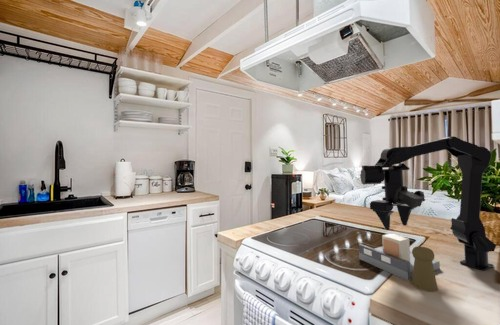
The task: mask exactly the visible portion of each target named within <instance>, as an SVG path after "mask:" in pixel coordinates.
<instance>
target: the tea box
mask: <svg viewBox="0 0 500 325" xmlns="http://www.w3.org/2000/svg"><path fill="white" fill-rule="evenodd" d="M381 239H382V240H381V241H382V242H381V243H382V246H383V252H385V253H387V254H390V255H393V256H396V257H398V258H401V259H404V260H407V261H409V262H410V252H411V246H410V238H408V237H406V236H405V237H404V236H401V235H397V234H394V233H388V234H387V233H386V234H383V235H382V236H381Z"/></svg>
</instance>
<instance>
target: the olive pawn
mask: <svg viewBox="0 0 500 325" xmlns="http://www.w3.org/2000/svg"><path fill="white" fill-rule="evenodd" d="M411 250H412V251H411V252H412V254H413V257H414V258H415V260H414V269H413V278H412V279H411V285H412V286H413V287H414V288H416V289H418V290H421V291H424V292H437V291H438V283H437V278H436V274H435V271H434V268H433V263H432V261H433V260H435V253H434V251H433V249H431V248H429V247H426V246H415V247H412V249H411Z"/></svg>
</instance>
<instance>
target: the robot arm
mask: <svg viewBox="0 0 500 325" xmlns="http://www.w3.org/2000/svg"><path fill="white" fill-rule="evenodd" d="M440 151H447V152H448V153H449V154H450V155H451V156H453V157H455V158H457V165H458V167H459V170H460V171H461V173H462V176H461V177H462V178H461V190H460V191H461V193H460V205H459V208H460V209H459V215H458V216H457V218H454V217H452V218H451V219H450V220H451V221H450V222H451V226H450V230H452V231H451V233H452V235H453V236H454V237H455V238H456V239H457V241H458V242H459V243H461V244H463V248H464V259H463V260H460V261H459V264H461V265H465V266H469V267H471V268H474V269H478V270H480V271H486V270H489V269H491V268H494V266H495V264H493V263H489V253H490V252H495V250H496V247H497V245H496V244H495V243H494V242H493V240H490V239H489V238H488V237H487V235H486V228H485V226H484V223H483V221H482V218H481V217H480V216H481V203H482V202H481V200H482V189H483V188H482V185H483V184H482V183H483V174H484V173H485V172H486V170H487V169H488V167H490V163H491V159H492V151H490V150H489V149H488V148H487V147H485V146H480V145H477V144H475V143H471V142H469V141H466V140H463V139H460V138H459V137H457V136H446V137H442V138H440V139H436V140H430V141H426V142H423V143H419V144H415V145H410V146H396V147H390V148H389V147H388V148H385V149H383V150H382V151H381V152H380V153H381V154H380V157H379V159H378V160H377V162H376V163H375V164H374V165H365V164H364V165H361V170H360V174H359V178H360V182H361V184H362V185H380V184H382V182H384V183H383V185H382V186H381V189H382V190H384V197H382V200H380V199H377V200H372V201H370V202H369V209H370V210H372V211H373V212H375V214H376V215H377V217H378V219H379V220H380V222H381V223H382V225H383V227H384V228H385V230H387V231H390V228H391V215H392V214H393V213H394V211H393V209H394V207H395V206H396V209H397V211H398V215H399V218H400V221H401V224H402V226H405V227H406V226H407V225H408V222H409V219H410V215H411V212H412V211H413V210H414V209H415V208H418V207H421V206H422V203H423V202H425V201H426V197H425V193H424V191H423V190H422V191H421V190H416V191H414V192H413V191H409V190H408V187H407V185H404V176H403V175H404V174H403V171H409V170H410V167H408V166H407V165H406V164H405V163H404V162H407V161H409V160H410V159H412V158H415V157H418V156H422V155H427V154H430V153H431V154H433V153H436V152H440Z"/></svg>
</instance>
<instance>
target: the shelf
mask: <svg viewBox="0 0 500 325" xmlns="http://www.w3.org/2000/svg"><path fill="white" fill-rule="evenodd" d="M358 259H359V260H361V261H362V262H365V263H367V264H370V265H372V266H373V267H376V268H379V269H381V270H383V271H385V270H386V271H385V272H387V271H388V272H387V273H389V274H390V273H391V274H392V275H395V276H397V277H399V278H402V279H404V280H405V281H412V278H413V269H414V260H415V258H414V257H413V254H412V251H410V262H409V261H407V260H404V259H401V258H398V257H396V256H393V255H390V254H387V253H385V252H383V245H382V246H378V247H375V248H373V247H371V246H368V245H365V244H363V243H360V244H358ZM432 263H433V268H434V272H435V271H438V270H440V268H441V267H440V264H441V262H440V261H439V260H437V259H434V260H433V261H432Z"/></svg>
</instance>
